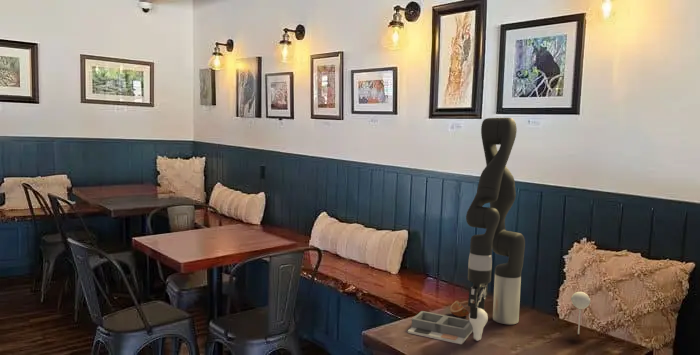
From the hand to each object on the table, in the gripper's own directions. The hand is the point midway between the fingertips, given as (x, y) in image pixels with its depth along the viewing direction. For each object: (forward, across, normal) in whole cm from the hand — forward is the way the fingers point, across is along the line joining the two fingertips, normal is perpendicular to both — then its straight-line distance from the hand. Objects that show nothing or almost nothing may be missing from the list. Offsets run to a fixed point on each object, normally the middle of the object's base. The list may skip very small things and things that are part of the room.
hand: (477, 314), depth 180 cm
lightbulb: (+9, +1, 0) cm, 9 cm away
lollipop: (+8, +25, -29) cm, 39 cm away
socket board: (+9, +1, +13) cm, 16 cm away
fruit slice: (+9, +19, +12) cm, 24 cm away
